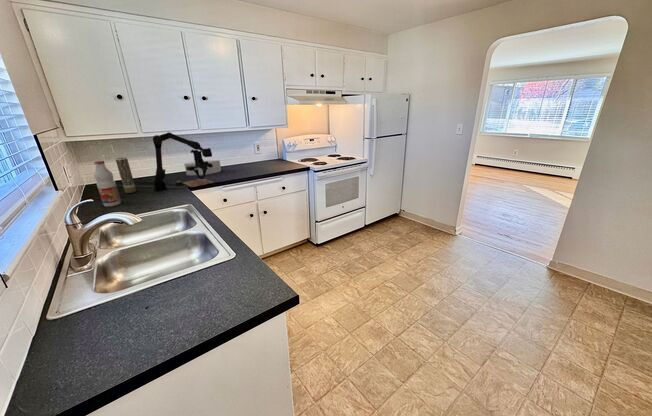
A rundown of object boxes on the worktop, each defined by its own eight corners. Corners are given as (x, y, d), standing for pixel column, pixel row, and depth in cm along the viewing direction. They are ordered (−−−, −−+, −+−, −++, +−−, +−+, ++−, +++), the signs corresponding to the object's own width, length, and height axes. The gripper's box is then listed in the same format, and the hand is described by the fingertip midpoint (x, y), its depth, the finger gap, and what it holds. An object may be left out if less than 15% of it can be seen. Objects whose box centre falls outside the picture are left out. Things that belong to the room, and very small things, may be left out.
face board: (191, 187, 207) (191, 186, 207) (182, 183, 219) (182, 182, 218) (214, 182, 219) (213, 181, 219) (204, 178, 231) (204, 177, 230)
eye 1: (177, 186, 211) (176, 182, 210) (175, 185, 213) (174, 181, 212) (182, 185, 213) (182, 181, 212) (181, 184, 216) (180, 180, 215)
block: (186, 173, 249) (183, 162, 245) (220, 169, 262) (218, 159, 259) (187, 177, 237) (184, 165, 233) (222, 172, 250) (220, 161, 246)
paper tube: (130, 193, 193) (120, 159, 184) (123, 193, 195) (112, 159, 186) (138, 190, 200) (129, 157, 191) (131, 190, 201) (121, 157, 192)
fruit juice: (125, 202, 176) (112, 160, 165) (109, 207, 167) (95, 163, 157) (115, 201, 179) (102, 159, 168) (100, 205, 171) (85, 162, 160)
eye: (200, 179, 214) (199, 175, 213) (198, 178, 216) (197, 175, 215) (205, 178, 216) (204, 174, 215) (203, 177, 219) (202, 174, 218)
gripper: (190, 161, 199) (194, 181, 204) (214, 157, 211) (217, 176, 217) (184, 159, 206) (188, 178, 211) (208, 155, 218) (211, 174, 224)
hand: (201, 177), depth 216 cm, fingers closed on eye, 4 cm apart
